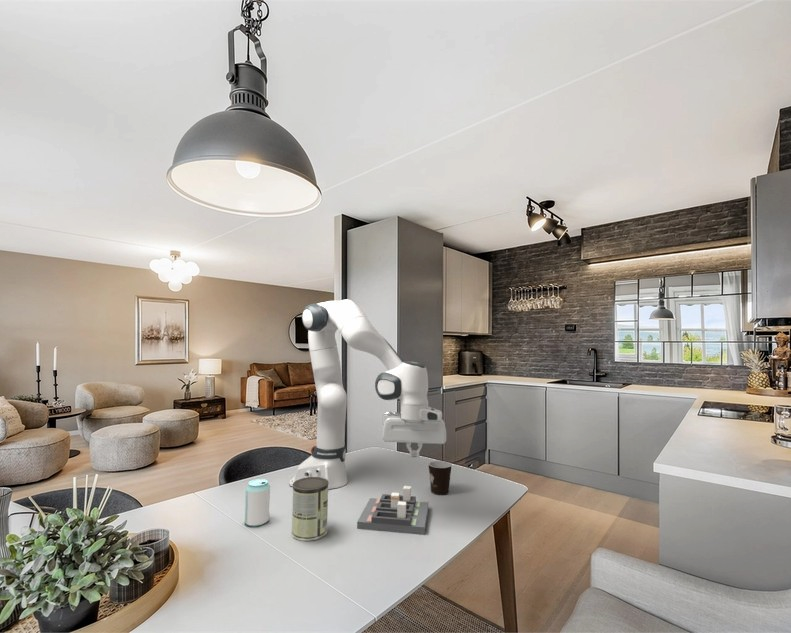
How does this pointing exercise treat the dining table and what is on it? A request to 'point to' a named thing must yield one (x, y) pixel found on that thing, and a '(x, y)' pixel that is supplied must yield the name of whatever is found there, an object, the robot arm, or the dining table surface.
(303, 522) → the coffee can
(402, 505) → the breaker near
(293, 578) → the dining table surface
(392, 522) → the panel
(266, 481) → the can
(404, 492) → the block
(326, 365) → the robot arm
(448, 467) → the coffee mug
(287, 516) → the dining table surface
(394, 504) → the block
